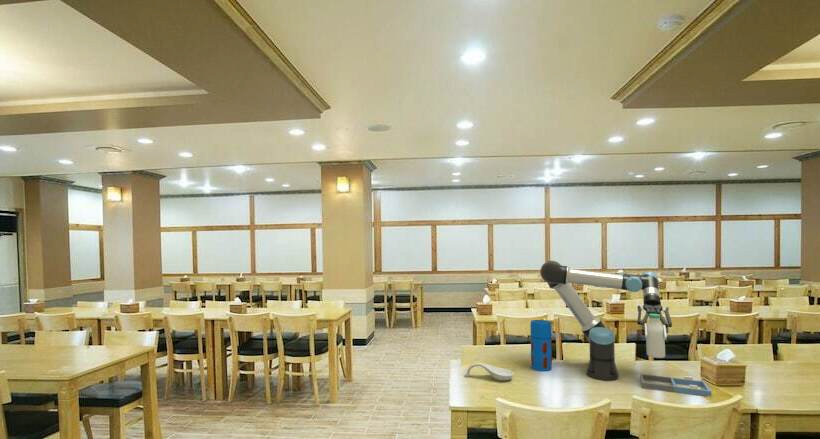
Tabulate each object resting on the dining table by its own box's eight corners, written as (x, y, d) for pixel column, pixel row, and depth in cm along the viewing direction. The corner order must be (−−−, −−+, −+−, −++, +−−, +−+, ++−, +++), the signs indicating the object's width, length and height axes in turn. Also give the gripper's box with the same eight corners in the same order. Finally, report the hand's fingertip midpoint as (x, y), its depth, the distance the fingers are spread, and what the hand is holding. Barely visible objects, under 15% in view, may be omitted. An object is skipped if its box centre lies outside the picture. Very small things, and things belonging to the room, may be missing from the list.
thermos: (554, 367, 228) (553, 321, 229) (549, 372, 219) (548, 324, 220) (534, 364, 234) (533, 319, 235) (528, 369, 225) (527, 322, 226)
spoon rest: (513, 376, 215) (513, 362, 215) (514, 384, 204) (513, 369, 204) (467, 373, 220) (467, 359, 221) (465, 380, 209) (465, 366, 209)
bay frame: (642, 388, 197) (641, 379, 197) (639, 378, 210) (639, 370, 210) (711, 397, 186) (711, 387, 186) (704, 386, 198) (704, 378, 199)
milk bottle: (668, 358, 197) (666, 315, 198) (649, 358, 198) (648, 315, 199) (661, 354, 204) (660, 312, 205) (644, 353, 206) (642, 312, 207)
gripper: (674, 304, 212) (680, 344, 197) (629, 301, 220) (631, 339, 205) (675, 294, 207) (681, 335, 192) (629, 292, 216) (632, 331, 200)
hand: (655, 337), depth 199 cm, fingers closed on milk bottle, 7 cm apart
